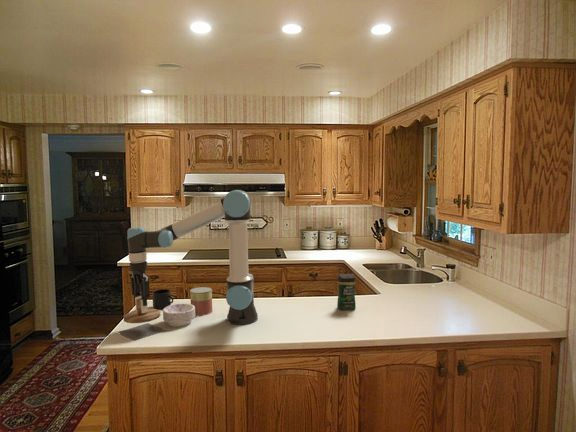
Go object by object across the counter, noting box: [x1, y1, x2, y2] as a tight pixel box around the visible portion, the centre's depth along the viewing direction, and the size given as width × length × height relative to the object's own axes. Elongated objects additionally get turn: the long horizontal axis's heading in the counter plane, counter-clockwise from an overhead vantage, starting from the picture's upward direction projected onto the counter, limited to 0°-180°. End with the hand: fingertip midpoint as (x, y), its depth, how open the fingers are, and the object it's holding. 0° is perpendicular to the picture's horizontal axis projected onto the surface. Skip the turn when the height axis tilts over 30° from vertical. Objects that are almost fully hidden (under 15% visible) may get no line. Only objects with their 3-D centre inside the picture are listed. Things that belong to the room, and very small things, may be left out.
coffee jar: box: [336, 273, 357, 311], centre depth 222 cm, size 10×8×19 cm
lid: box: [123, 298, 161, 324], centre depth 191 cm, size 16×16×8 cm
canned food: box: [189, 286, 213, 316], centre depth 220 cm, size 11×11×12 cm
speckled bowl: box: [162, 303, 196, 327], centre depth 203 cm, size 15×15×8 cm
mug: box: [151, 288, 174, 311], centre depth 229 cm, size 9×12×9 cm
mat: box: [118, 322, 167, 342], centre depth 192 cm, size 16×16×1 cm
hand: (141, 311), depth 191 cm, fingers closed on lid, 4 cm apart
